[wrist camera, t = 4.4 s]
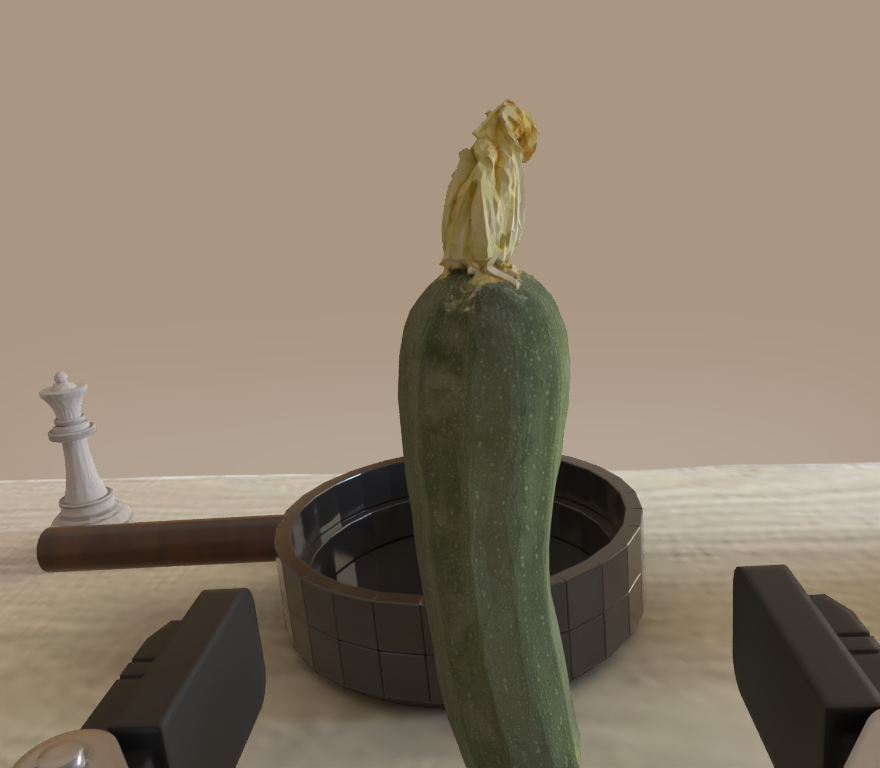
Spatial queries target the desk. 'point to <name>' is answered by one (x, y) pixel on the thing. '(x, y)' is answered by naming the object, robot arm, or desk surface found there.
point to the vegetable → (490, 464)
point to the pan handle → (158, 544)
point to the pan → (400, 588)
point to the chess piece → (80, 461)
